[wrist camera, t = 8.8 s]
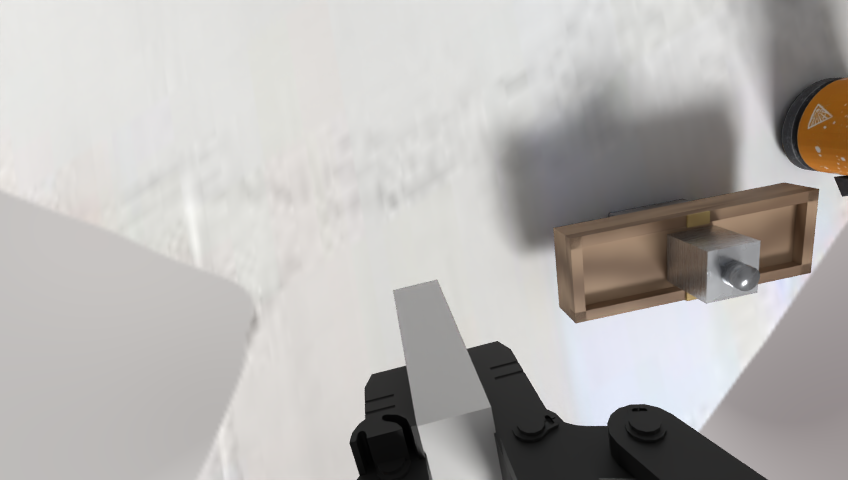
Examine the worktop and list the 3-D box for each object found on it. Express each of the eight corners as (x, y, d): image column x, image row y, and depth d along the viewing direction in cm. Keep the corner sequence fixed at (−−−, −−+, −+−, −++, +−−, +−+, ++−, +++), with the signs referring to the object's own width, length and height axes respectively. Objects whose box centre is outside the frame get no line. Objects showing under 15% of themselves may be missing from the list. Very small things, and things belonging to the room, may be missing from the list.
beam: (537, 217, 46) (571, 238, 38) (750, 175, 48) (821, 188, 40) (543, 291, 48) (576, 324, 41) (746, 249, 50) (812, 273, 43)
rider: (667, 234, 41) (721, 257, 35) (714, 224, 41) (776, 246, 35) (667, 280, 42) (720, 311, 36) (712, 271, 43) (772, 299, 36)
